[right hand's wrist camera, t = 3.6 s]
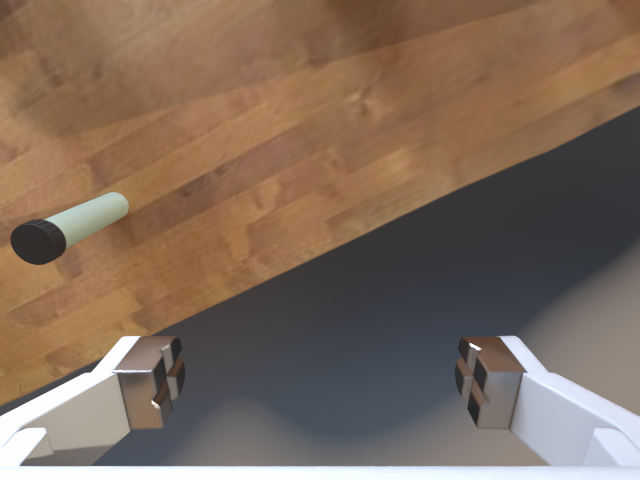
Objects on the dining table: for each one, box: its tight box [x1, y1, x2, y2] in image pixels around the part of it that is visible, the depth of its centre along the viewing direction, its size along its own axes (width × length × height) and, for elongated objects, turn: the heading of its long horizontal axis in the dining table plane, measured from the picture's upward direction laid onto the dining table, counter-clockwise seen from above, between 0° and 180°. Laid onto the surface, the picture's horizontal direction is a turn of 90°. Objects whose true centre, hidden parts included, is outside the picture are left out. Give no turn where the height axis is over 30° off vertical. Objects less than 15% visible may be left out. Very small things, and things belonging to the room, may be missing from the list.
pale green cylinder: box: [44, 192, 129, 249], centre depth 50 cm, size 4×4×18 cm
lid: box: [11, 219, 66, 265], centre depth 43 cm, size 5×5×2 cm
